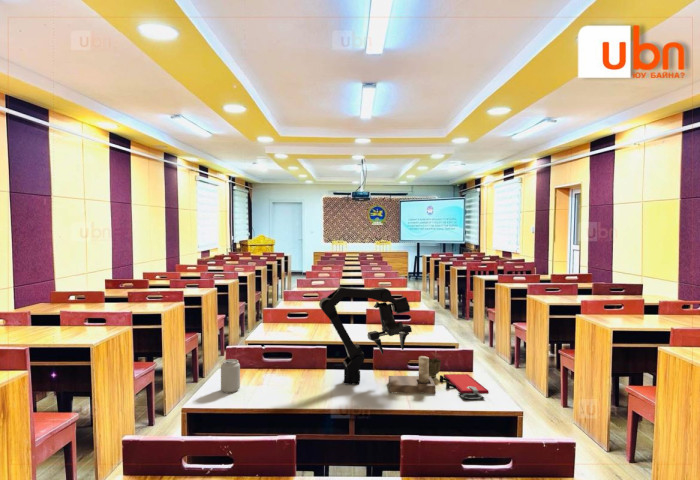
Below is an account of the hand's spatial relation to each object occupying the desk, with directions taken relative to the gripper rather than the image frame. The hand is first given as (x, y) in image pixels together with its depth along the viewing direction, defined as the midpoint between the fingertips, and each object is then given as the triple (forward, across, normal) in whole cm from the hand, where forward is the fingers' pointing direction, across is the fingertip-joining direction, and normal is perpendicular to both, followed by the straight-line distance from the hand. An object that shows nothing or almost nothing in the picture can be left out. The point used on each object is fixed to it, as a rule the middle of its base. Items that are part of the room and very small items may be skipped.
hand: (392, 351), depth 192 cm
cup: (+16, +17, +2) cm, 23 cm away
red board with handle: (+18, +24, -12) cm, 33 cm away
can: (+2, -70, +3) cm, 70 cm away
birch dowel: (+15, +7, -11) cm, 20 cm away
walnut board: (+14, +3, -9) cm, 17 cm away
